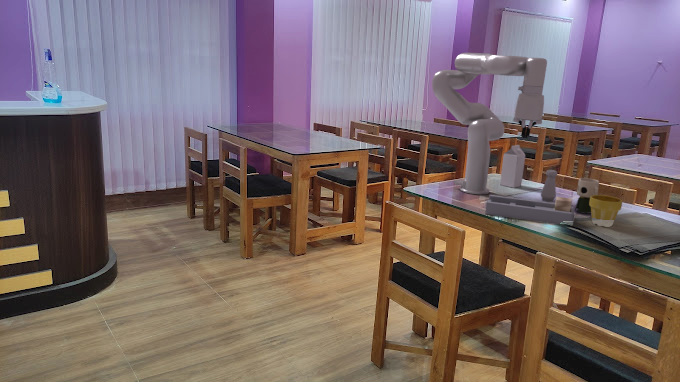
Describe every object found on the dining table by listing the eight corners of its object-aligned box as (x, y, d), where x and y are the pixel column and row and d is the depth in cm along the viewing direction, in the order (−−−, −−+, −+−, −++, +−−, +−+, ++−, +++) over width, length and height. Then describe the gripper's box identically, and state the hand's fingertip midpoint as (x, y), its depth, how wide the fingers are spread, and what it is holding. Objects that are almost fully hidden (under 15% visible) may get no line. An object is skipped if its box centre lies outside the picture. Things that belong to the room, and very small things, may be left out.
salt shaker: (556, 203, 208) (560, 172, 205) (541, 201, 209) (546, 171, 206) (553, 199, 214) (557, 169, 210) (539, 198, 215) (543, 168, 212)
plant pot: (579, 220, 185) (583, 194, 182) (601, 219, 188) (606, 193, 186) (601, 229, 175) (606, 202, 173) (624, 228, 179) (629, 201, 176)
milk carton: (499, 185, 236) (504, 145, 231) (507, 183, 241) (512, 143, 236) (513, 188, 231) (519, 147, 226) (521, 186, 236) (526, 146, 231)
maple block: (554, 212, 182) (556, 199, 181) (554, 209, 187) (556, 196, 185) (569, 215, 180) (571, 201, 179) (569, 211, 185) (571, 198, 184)
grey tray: (485, 214, 188) (486, 202, 187) (488, 205, 199) (489, 194, 198) (572, 226, 177) (574, 214, 176) (570, 216, 189) (572, 205, 188)
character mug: (566, 208, 201) (571, 176, 197) (582, 208, 202) (587, 176, 199) (584, 216, 190) (590, 183, 187) (601, 216, 192) (607, 183, 188)
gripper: (511, 89, 194) (504, 136, 199) (553, 92, 189) (544, 141, 194) (512, 88, 201) (506, 134, 206) (552, 91, 196) (545, 138, 200)
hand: (525, 137), depth 200 cm, fingers closed
